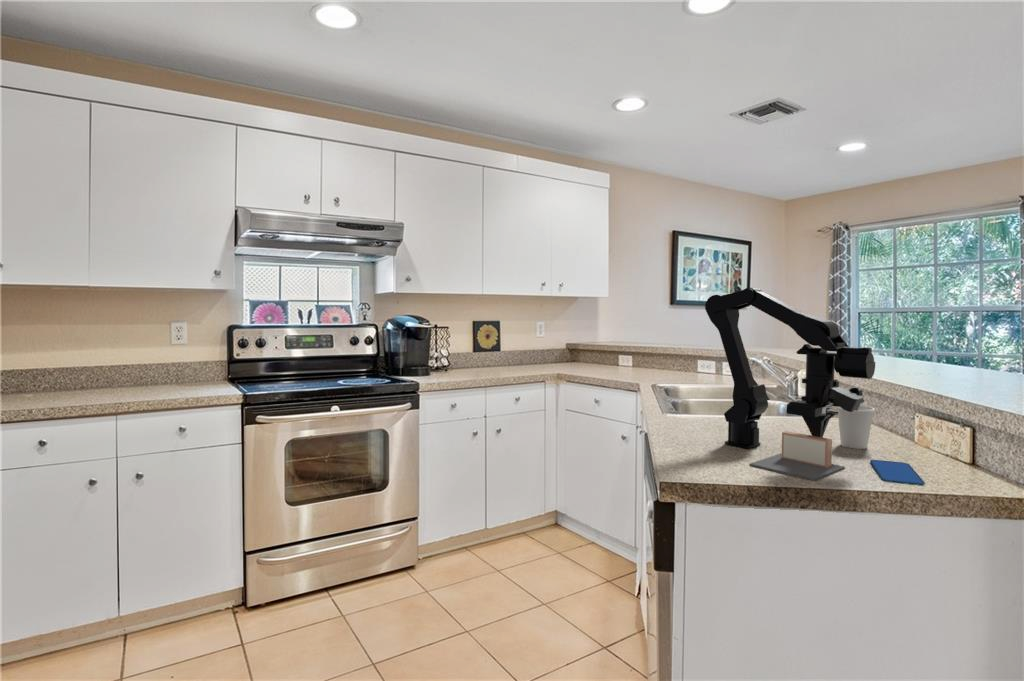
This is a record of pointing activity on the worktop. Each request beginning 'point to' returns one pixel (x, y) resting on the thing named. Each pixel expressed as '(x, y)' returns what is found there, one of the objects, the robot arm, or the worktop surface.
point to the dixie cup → (855, 426)
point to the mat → (796, 467)
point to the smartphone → (896, 472)
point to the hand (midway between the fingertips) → (817, 441)
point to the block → (807, 449)
